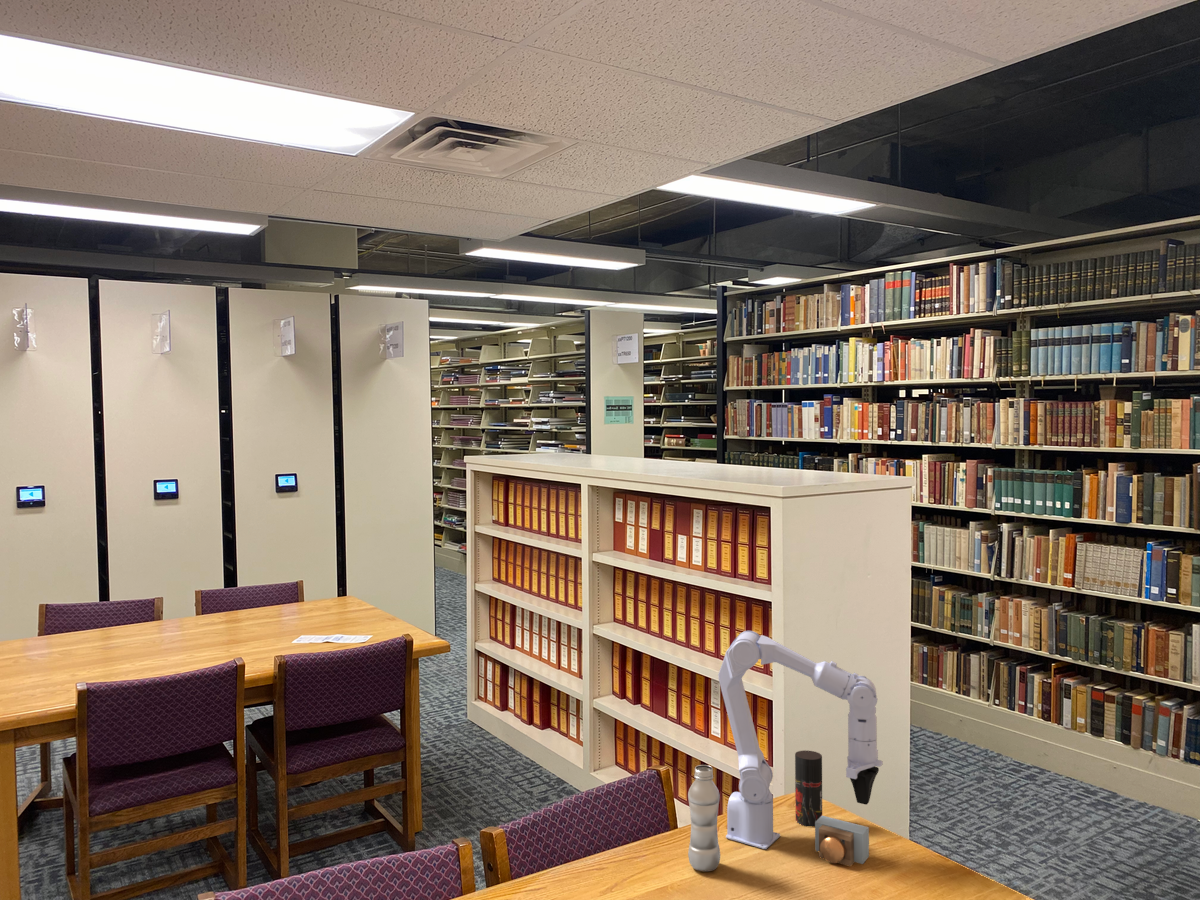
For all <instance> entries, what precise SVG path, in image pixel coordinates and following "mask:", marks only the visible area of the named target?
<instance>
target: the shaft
mask: <svg viewBox="0 0 1200 900" xmlns="http://www.w3.org/2000/svg"><path fill="white" fill-rule="evenodd" d="M820 851H821V854H822V856H823V857H824V858H825V859H824V860H825V861H826V862H828V863H831V864H839V863H838V862H840V861H841V860H842V859H843V857H844V856H845V853H846V850H845V840H842V839H839V838H837V837H835V836H828V837H826V838H825V839H824V840H823V841H822V842H821V844H820Z"/></svg>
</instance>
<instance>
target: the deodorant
mask: <svg viewBox="0 0 1200 900" xmlns="http://www.w3.org/2000/svg"><path fill="white" fill-rule="evenodd" d="M822 755H823V754H821V753H820V752H817V751H813V750H806V749H805V750H798V751H796V752H795V753H794V765H795V766H794V772H795V774H794V776H795V777H794V780H795V783H794V785H795V787H794V788H795V789H794V791H795V793H794V798H795V803H794V804H795V806H794V807H795V813H794V814H795V822H796V821H797V822H796V824H798V823H799V824H798V825H800V824H801V826H803V825H804V827H807V826H815V822H816V821H817V820H818V819H819V818H820V817H821V816H823V756H822Z"/></svg>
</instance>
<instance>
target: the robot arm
mask: <svg viewBox="0 0 1200 900" xmlns="http://www.w3.org/2000/svg"><path fill="white" fill-rule="evenodd" d="M759 660H760V665H762V666H763V665H767V664H772V663H777V664H779V665H782V666H784V667H786V668H789V669H790V670H793V671H795V672H798V673H800V674H802V675H804V676H807V677H809V678H810V679H811V681H812V683H813V685H814V687H817V688H818V689H820V690H823V691H824V692H825V693H826V692H827V693H829V694H831V695H833V696H835V697H837V698H839V699H840V700H845V701H847V702H848V704H849V705H848V706H849V709H848V710H849V712H848V714H847V716H848V717H847V732H848V733H847V738H848V739H847V744H848V745H847V746H848V747H847V748H848V749H847V753H848V754H847V757H846V758H847V766H846V767H845V771H846V772H845V773H846V774H845V775H846V778H848V779H850V782H851V785H852V786H853V787H852V788H853V791H854V795H855V800H856V803H858V804H861V805H868V804H869V803H870V800H871V796H872V790H873V789H872V788H873V785H874V782H875V779H876V777H877V775H878V773H879V771H880V770H879V767H882V766H883V761H882V760H880V759H879V749H878V746H877V745H878V742H877V741H878V740H877V739H878V738H877V737H878V732H877V731H878V726H877V725H878V724H877V722H878V721H877V716H876V715H877V714H876V713H877V708H876V706H877V703H878V698H877V697H878V696H877V688H876V686H875V684H874V683H873V682H872V680H871V679H869V678H867V676H865V675H859V674H858V673H857V672H853V673H851V672H850V671H847V670H845V669H843V668H841V667H839V666H838V665H837V664H838V663H837V662H835V661H833V660H831V661H830V662H828V661H826V660H824V661H820V662H815V661H814V660H812V659H810V658H807V657H806V656H804V655H802V654H800V653H798V652H796V651H794V650H793V649H791V648H789V647H787V646H785V645H783V644H782V643H779V642H777V641H775V640H774V639H772V638H771V637H768V636H766V635H763V634H761V635H760V634H759V633H758V632H756V631H753V630H744V631H743V632H741V633H739V634H738V635H737V636H736V637H735V638H734V640H733V641H732V643H731V644H730V646H729V647H728V648H727V650H726V651H725V653H724V657H723V661H722V664H721V666H720V669H719V672H718V674H717V676H718V682H719V685H720V689H721V690H720V691H721V694H722V697H723V702H724V706H725V709H726V712H727V718H728V721H729V725H730V729H731V732H732V736H733V737H732V738H733V741H734V745H735V749H736V752H737V758H738V773H739V778H740V779H739V782H738V783H739V784H738V790H739V791H734V792H732V793H731V794H730V796H729V797H728V803H727V807H726V811H727V812H726V813H727V814H726V815H727V817H726V818H727V820H726V821H727V822H726V823H727V828H726V829H727V834H726V835H725V838H726V839H728V840H731V841H734V842H735V841H736V842H739V843H742V844H745V845H748V846H751V847H756V848H758V849H762V850H767V849H768V848H770V846H771V845H772V844H774V843H775V842H776V841H777V840H778V839H779V838H780V837H781V834H780V833H779V832H775V831H774V795H773V793H772V792H771V790H770V786H771V783H772V781H773V777H774V776H773V770H772V768H771V766H770V765H769V764H768V762H767V761H766V759H765V756H764V753H763V751H762V750H761V748H760V744H759V741H758V736H757V733H756V729H755V728H756V727H755V725H754V724H755V723H754V722H753V718H752V713H751V709H750V705H749V701H748V697H747V694H746V691H745V686H744V682H743V678H744V676H745V674H746V672H747V671H748V670H750V669H751V668H752V667H754V666H755V665H756V664H757V663H758V662H759Z"/></svg>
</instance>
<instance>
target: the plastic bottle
mask: <svg viewBox="0 0 1200 900" xmlns="http://www.w3.org/2000/svg"><path fill="white" fill-rule="evenodd" d="M713 771H714V769H713V767H712V766H710V765H707V764H699V765H696V766H695V767H694V774H693V775H694V776H693V777H694V779H695V780H694V781H693V782H692V784H691V786H690V787H689V789H688V792H687V799H688V804H689V812H690V815H689V816H690V836H689V837H690V841H689V843H688V844H689V846H688V853H687V855H688V856H687V857H688V861H689V864H690V866H691V867H692V868H693V870H694V869H695V870H696V871H699V872H711V871H714V870H716V869H717V868H718V866H719V865H720V861H721V848H720V845H719V837H718V813H719V804H720V792H719V789H718V787H717V786H716V784H715V783H714V780H713V779H714V774H713V773H714V772H713Z"/></svg>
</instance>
